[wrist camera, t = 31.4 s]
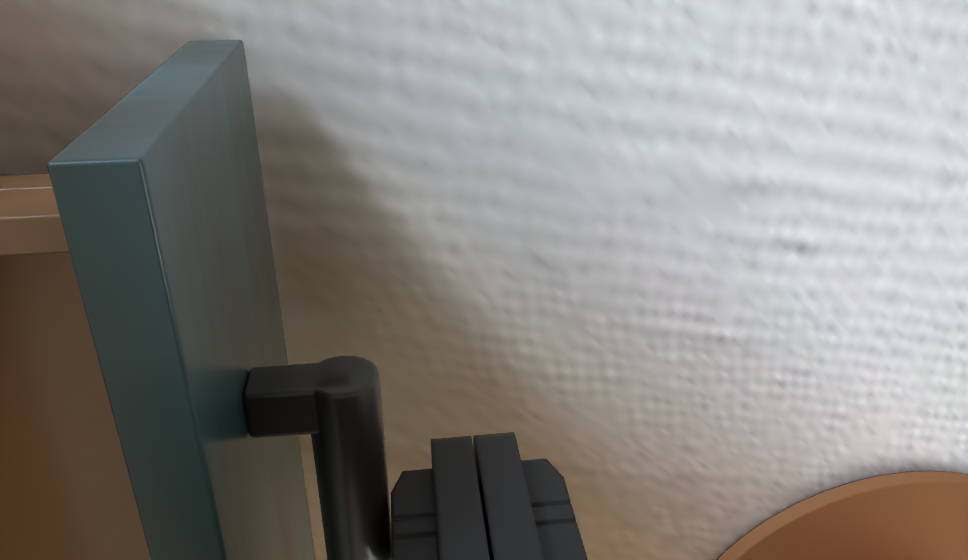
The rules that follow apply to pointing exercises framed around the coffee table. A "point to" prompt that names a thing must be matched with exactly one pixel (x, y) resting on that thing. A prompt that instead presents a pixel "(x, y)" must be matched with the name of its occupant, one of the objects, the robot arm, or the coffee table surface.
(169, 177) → the drawer
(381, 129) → the coffee table surface
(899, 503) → the coaster
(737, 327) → the coffee table surface
